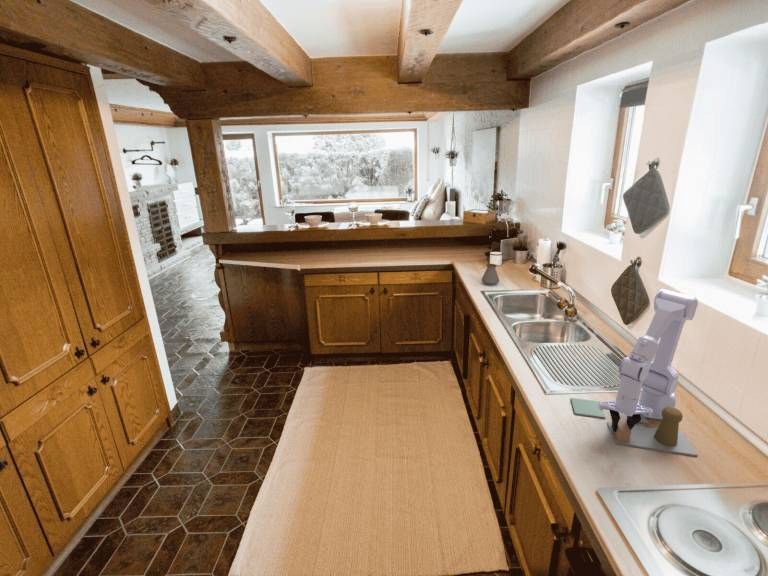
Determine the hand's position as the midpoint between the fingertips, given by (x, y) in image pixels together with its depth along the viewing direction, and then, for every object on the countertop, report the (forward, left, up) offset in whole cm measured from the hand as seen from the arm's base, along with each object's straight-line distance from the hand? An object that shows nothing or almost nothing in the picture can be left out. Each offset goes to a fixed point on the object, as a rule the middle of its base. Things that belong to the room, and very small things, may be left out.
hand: (620, 430), depth 128 cm
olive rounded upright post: (-13, 0, -1) cm, 13 cm away
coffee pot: (+44, -144, -2) cm, 151 cm away
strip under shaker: (-8, 0, -2) cm, 9 cm away
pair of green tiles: (+1, -12, -2) cm, 12 cm away
